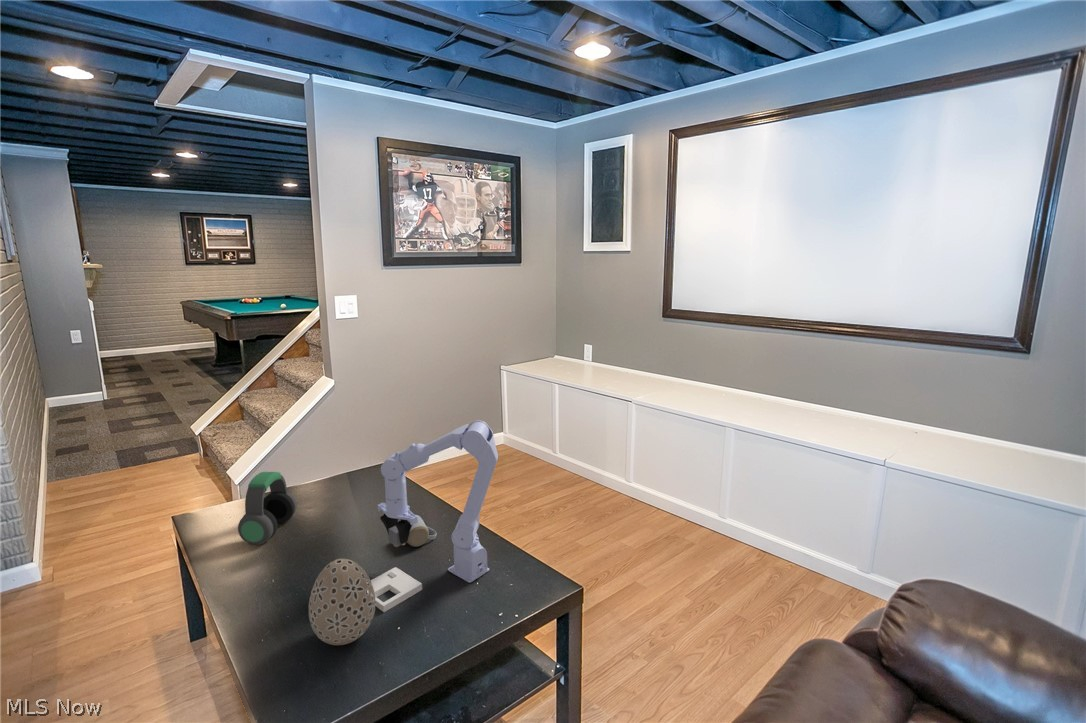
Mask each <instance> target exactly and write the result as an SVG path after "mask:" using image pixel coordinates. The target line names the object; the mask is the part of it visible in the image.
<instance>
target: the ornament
mask: <svg viewBox="0 0 1086 723" xmlns="http://www.w3.org/2000/svg"><path fill="white" fill-rule="evenodd" d="M370 580H371V579H370V577H369V575H368V574H367V572H366V571H365V569H364V568H363V567H362V566H360V564H359V563H357V562H356V561H355V560H354V561H353V560H351V559H348V558H337V559H334V560H332V561H331V562H329V563H328V564H327V565H325V567H324V568H323V569H322V570H321V571H320V572H319V574H318V575H317V577H316V579H315V581H314V584H313V586H312V589H311V591H310V594H309V595H310V596H309V601H308V619H309V623H310V626H311V628H312V629H311V630H312V631H313V632H314V634H315V635H316V636H317V638H318V639H319V640H320V641H322V642H324V643H326V644H328V645H331V646H344V645H348V644H351V643H353V642H355V641H356V640H358V639H360V637H361V636H363V635H364V634H365V633H366V631H367V630H369V627H370V626H371V623H372V622H373V618H374V616H375V612H376V606H375V592H374V589H373V586H372V583H371V581H370ZM367 582H368V583H369V584H367ZM347 588H348V589H347ZM367 590H368V592H369V593H367ZM371 594H372V596H371ZM373 601H374V604H373Z"/></svg>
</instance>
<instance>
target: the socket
mask: <svg viewBox="0 0 1086 723" xmlns="http://www.w3.org/2000/svg"><path fill="white" fill-rule="evenodd" d="M370 581H371V583H372V586H373V589H374V592H375V608H377V609H378V610H380V611H382V613H386V612H387V611H390V609H392V608H394V607H396V606H397V605H399V604H400V603H402V602H405V600H407V599H409V598H410V597H411V598H412V597H413V596H414V595H415V594H417V593H420V592H421V591H422V590H423V583H422V582H420V581H419V580H417V579H415V578H413V577H412V576H410V574H407V573H405V572H404V571H403V570H401V569H400V568H398V567H396V566H395V567H393V568H391V569H389V570H387V571H386V572H383V573H382V574H379V575H377V576H376V577H374V578H372V579H370ZM367 584H369V583H368V581H367ZM389 591H390V592H392V593H393V594H395V595H394V596H392V597H391V598H389V599H387V600H385V601H382V600H381V599H379V598H378V597H379V596H382V595H383V594H385V593H386V592H389ZM367 593H369V592H368V590H367ZM371 596H372V594H371ZM373 604H374V601H373Z"/></svg>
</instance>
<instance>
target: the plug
mask: <svg viewBox="0 0 1086 723" xmlns="http://www.w3.org/2000/svg"><path fill="white" fill-rule="evenodd" d="M388 542H389V543H390V544H391V545H393V547H395V548H396V547H397V548H398V547H401V546H405V545H406V543H407V542H408V541H407V542H405V543H404V544H401V543H400V539H399V532H398V529H397V527H396V526H394V527H392V528H389V535H388Z"/></svg>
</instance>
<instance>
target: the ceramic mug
mask: <svg viewBox="0 0 1086 723" xmlns="http://www.w3.org/2000/svg"><path fill="white" fill-rule="evenodd" d="M415 515H416V516H417V520H418V522H417V523H416V524H414V525H412V527H411V529H410V532H409V537H408V542H406V543H407V544H408V545H410V546H411V547H415V548H418V547H421V546H422V545H424V544H425V543H426V542H427V541H428V540H436V537H437V535H438V533H437V531H436V530H434V529H433V528H432V527H429V526H427V525H426V524H425V521H424V520H423V518H422V517H421V516H420V515H418V514H415Z"/></svg>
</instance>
